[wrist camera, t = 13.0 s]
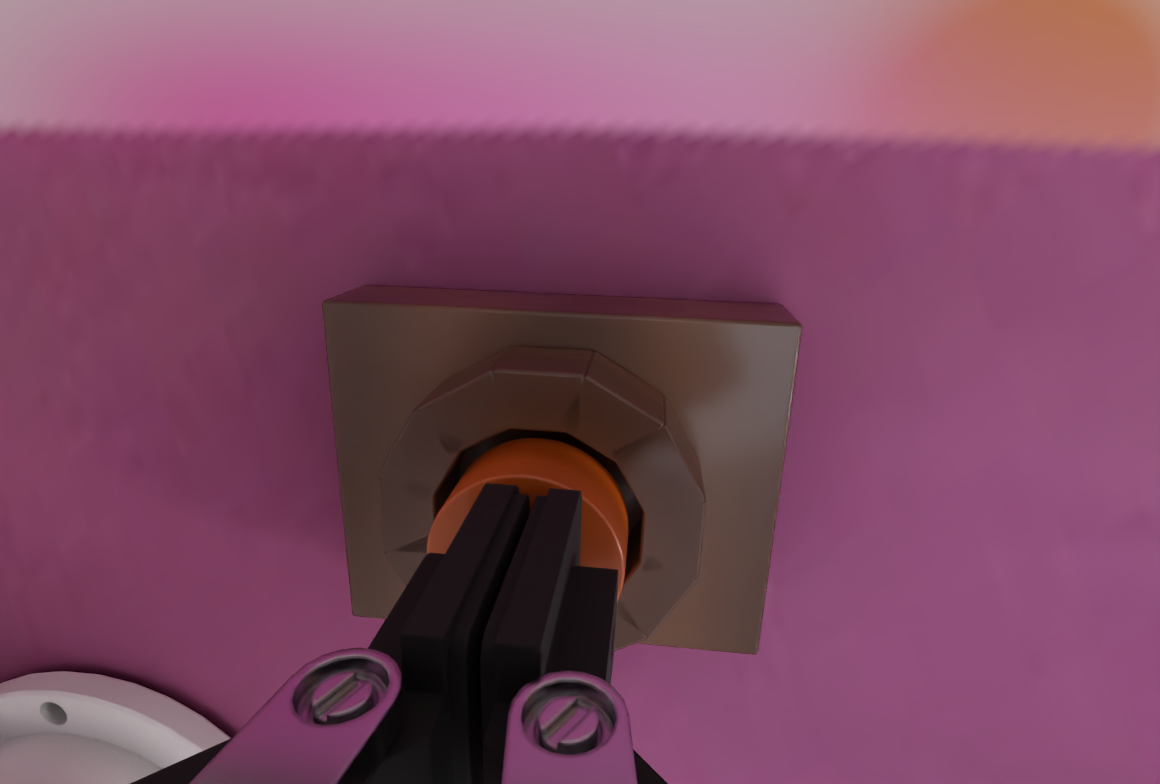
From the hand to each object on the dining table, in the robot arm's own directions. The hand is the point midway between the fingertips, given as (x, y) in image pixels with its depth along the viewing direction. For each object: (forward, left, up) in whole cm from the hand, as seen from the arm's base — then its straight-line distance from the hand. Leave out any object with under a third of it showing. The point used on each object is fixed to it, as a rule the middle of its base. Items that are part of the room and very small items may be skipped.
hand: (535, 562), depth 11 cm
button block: (0, 0, -6) cm, 6 cm away
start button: (0, 0, -2) cm, 2 cm away
